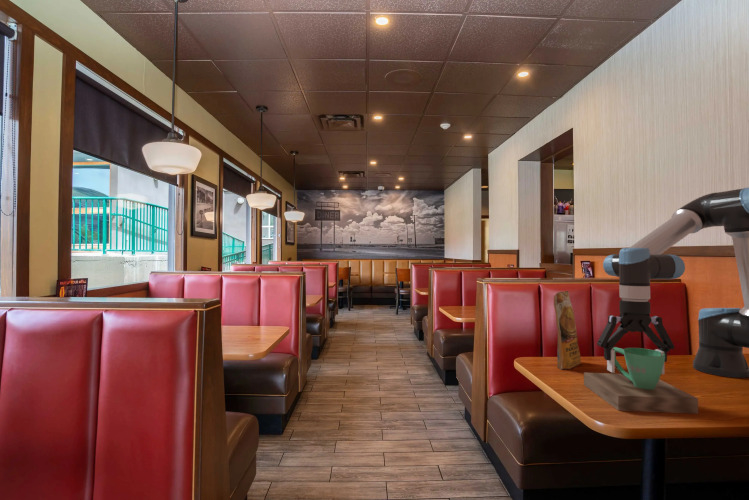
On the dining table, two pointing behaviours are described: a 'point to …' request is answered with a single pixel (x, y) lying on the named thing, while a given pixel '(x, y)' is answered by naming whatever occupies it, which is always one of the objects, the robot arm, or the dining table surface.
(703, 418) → the dining table surface
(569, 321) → the pancake mix bag
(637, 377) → the mug
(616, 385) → the plinth
